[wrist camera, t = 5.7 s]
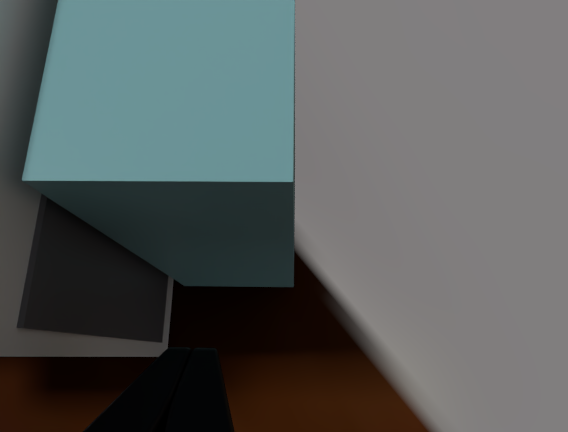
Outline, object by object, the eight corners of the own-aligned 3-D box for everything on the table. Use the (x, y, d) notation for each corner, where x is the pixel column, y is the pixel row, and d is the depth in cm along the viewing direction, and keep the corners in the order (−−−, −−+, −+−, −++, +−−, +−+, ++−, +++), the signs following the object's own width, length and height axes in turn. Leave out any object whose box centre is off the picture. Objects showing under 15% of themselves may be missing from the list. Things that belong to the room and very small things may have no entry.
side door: (293, 287, 14) (293, 181, 6) (184, 285, 14) (21, 180, 6) (296, 5, 18) (297, -331, 9) (206, 6, 18) (124, -327, 9)
